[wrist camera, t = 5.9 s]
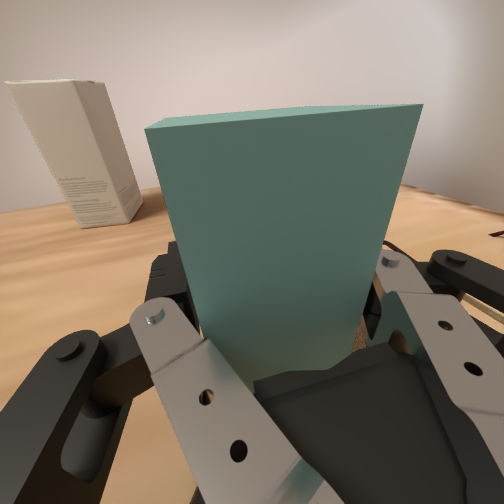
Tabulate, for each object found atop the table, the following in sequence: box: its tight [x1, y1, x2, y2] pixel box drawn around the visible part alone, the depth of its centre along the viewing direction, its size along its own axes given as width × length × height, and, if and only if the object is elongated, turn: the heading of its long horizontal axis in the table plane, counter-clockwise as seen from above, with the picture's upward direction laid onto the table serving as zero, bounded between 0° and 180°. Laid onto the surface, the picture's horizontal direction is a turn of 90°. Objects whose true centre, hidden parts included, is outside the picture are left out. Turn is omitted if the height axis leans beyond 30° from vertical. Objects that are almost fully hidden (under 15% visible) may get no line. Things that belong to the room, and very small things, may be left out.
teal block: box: [144, 104, 423, 394], centre depth 9 cm, size 5×5×12 cm
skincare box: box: [4, 79, 143, 229], centre depth 29 cm, size 8×7×16 cm
